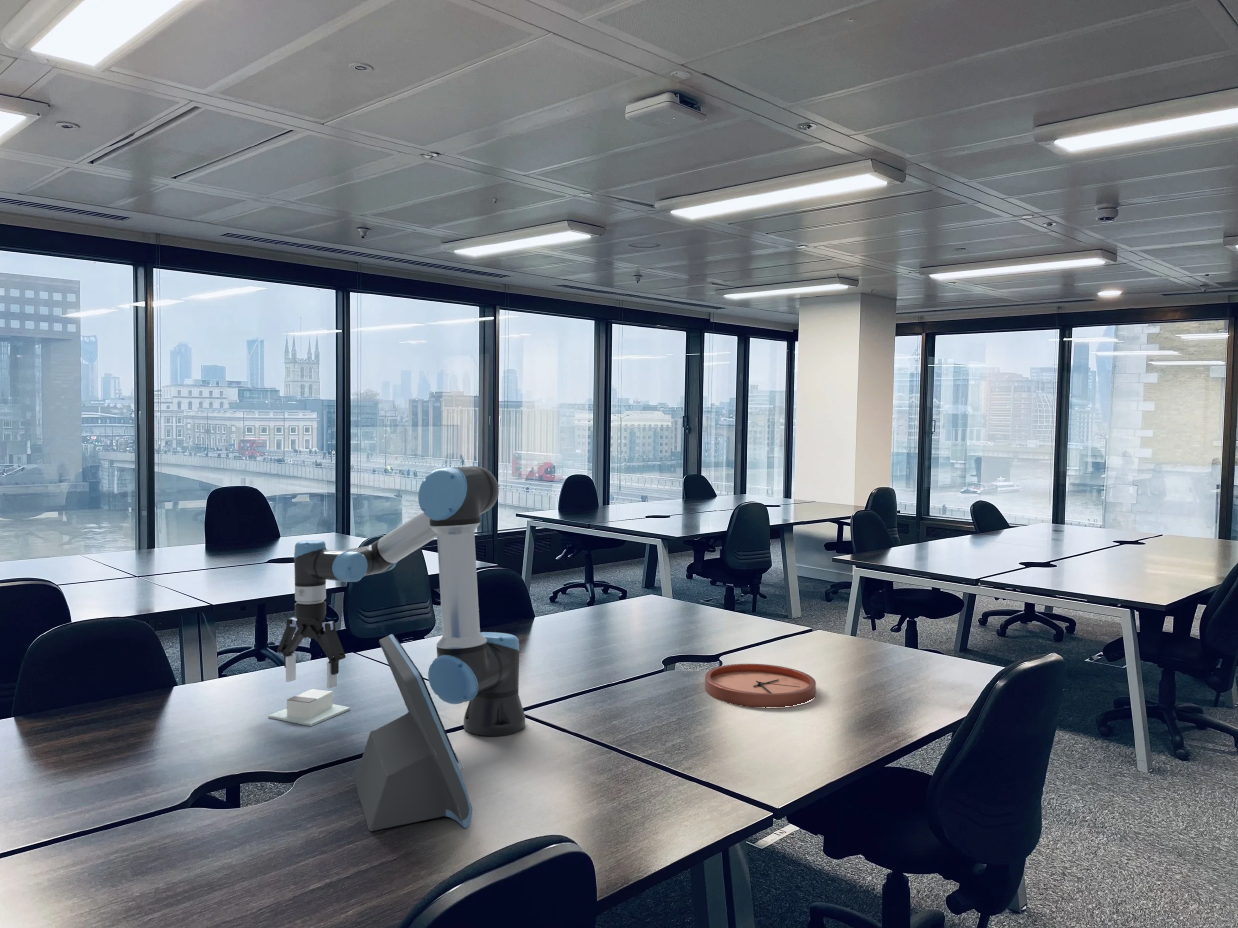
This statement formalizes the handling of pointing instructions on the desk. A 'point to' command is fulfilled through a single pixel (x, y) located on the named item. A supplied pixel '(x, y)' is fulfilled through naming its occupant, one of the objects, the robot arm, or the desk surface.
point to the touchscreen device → (410, 758)
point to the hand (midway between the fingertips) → (311, 683)
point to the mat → (314, 720)
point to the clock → (759, 685)
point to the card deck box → (309, 703)
